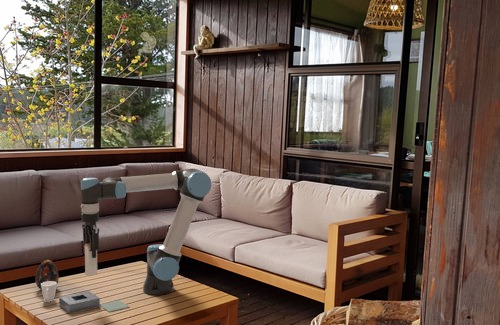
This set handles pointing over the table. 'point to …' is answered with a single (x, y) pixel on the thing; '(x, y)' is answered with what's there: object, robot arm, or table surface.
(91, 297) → the grey square holder
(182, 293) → the table surface
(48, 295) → the cup
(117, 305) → the mat
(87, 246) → the plug
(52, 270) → the egg
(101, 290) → the table surface
